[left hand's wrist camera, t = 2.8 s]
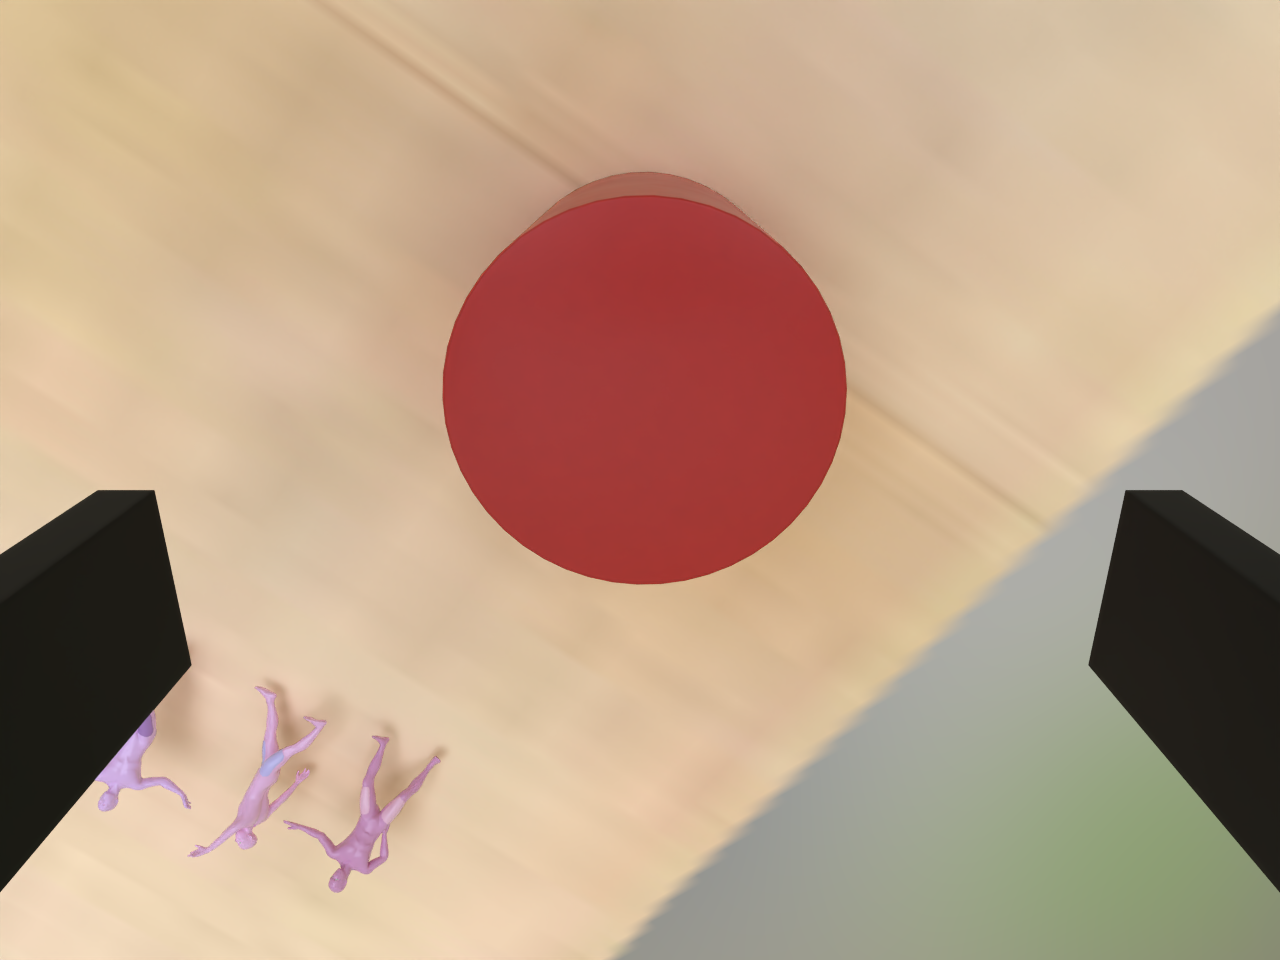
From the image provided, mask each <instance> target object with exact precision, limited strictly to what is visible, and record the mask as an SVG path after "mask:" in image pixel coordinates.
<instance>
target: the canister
mask: <svg viewBox="0 0 1280 960" xmlns="http://www.w3.org/2000/svg"><path fill="white" fill-rule="evenodd" d="M846 394H847V383H846V370H845V360H844V356H843V351H842V346H841V342H840V337H839V334H838V332H837V329H836V326H835V323H834V321H833V318H832V315H831V313H830V311H829V309H828V307H827V305H826V303H825V301H824V299H823V297H822V296H821V294H820V292H819V290H818V288H817V287H816V286H815V284H814V283H813V281H812V280H811V279H810V277H809V276H808V275H807V273H806V272H805V270H804V269H803V268H802V266H801V265H800V264H799V263H798V262H797V261H796V260H795V259H794V258H793V257H792V256H791V255H790V254H789V253H788V252H787V251H786V250H785V249H784V248H783V247H782V246H781V245H780V244H779V243H778V242H776V241H775V240H774V239H773V238H772V237H771V236H769V235H768V234H767V233H766V232H765V231H764V230H763V229H761V228H760V227H759V226H758V225H757V224H756V223H755V222H753V221H752V220H751V219H750V218H749V217H748V216H746V215H745V214H744V213H743V212H742V211H741V210H740V209H738V208H737V207H736V206H735V205H733V204H732V203H731V202H729V201H728V200H727V199H726V198H724V197H723V196H722V195H720V194H718V193H716V192H715V191H713V190H711V189H709V188H708V187H706V186H704V185H701V184H699V183H696V182H694V181H691V180H689V179H686V178H682V177H678V176H674V175H670V174H662V173H653V172H638V173H626V174H620V175H614V176H610V177H606V178H603V179H600V180H597V181H594V182H591V183H589V184H587V185H585V186H583V187H581V188H579V189H576V190H575V191H573V192H572V193H570V194H569V195H567V196H565V197H564V198H562V199H561V200H559V201H558V202H557V203H556V204H555V205H554V206H552V207H551V208H550V209H549V210H548V211H547V212H546V213H544V214H543V215H542V216H541V217H540V218H539V219H538V220H537V221H536V222H534V223H533V224H532V225H531V226H530V227H529V228H528V229H527V230H526V231H524V232H523V233H522V234H521V235H520V236H519V237H518V238H517V239H516V240H514V241H513V242H512V243H511V244H510V245H509V246H508V247H507V248H506V249H504V250H503V251H502V252H501V253H500V254H499V255H498V256H497V257H496V258H495V260H494V261H493V262H492V263H491V264H490V265H489V266H488V268H487V269H486V270H485V271H484V272H483V273H482V275H481V276H480V277H479V279H478V281H477V282H476V284H475V285H474V287H473V288H472V290H471V291H470V293H469V294H468V296H467V297H466V299H465V302H464V304H463V306H462V308H461V310H460V312H459V314H458V317H457V319H456V321H455V324H454V327H453V330H452V333H451V336H450V340H449V343H448V346H447V352H446V358H445V364H444V370H443V407H444V416H445V424H446V428H447V432H448V436H449V440H450V444H451V448H452V450H453V453H454V455H455V458H456V460H457V463H458V465H459V468H460V470H461V472H462V474H463V476H464V478H465V479H466V481H467V483H468V485H469V487H470V488H471V490H472V492H473V493H474V495H475V496H476V497H477V499H478V500H479V502H480V503H481V504H482V506H483V507H484V508H485V510H486V511H487V512H488V513H489V514H490V516H491V517H492V518H493V519H494V520H495V521H496V522H497V523H498V524H499V525H500V526H501V527H502V528H503V529H504V530H505V531H506V532H507V533H508V534H510V535H511V536H512V537H513V538H515V539H516V540H517V541H518V542H519V543H521V544H522V545H523V546H525V547H526V548H528V549H529V550H531V551H532V552H534V553H536V554H537V555H539V556H540V557H542V558H544V559H545V560H548V561H550V562H552V563H554V564H556V565H558V566H560V567H562V568H564V569H567V570H570V571H573V572H575V573H578V574H581V575H584V576H587V577H591V578H596V579H600V580H605V581H610V582H616V583H627V584H664V583H671V582H678V581H685V580H689V579H693V578H697V577H701V576H705V575H708V574H711V573H714V572H716V571H719V570H721V569H724V568H726V567H729V566H732V565H733V564H735V563H737V562H739V561H741V560H743V559H745V558H747V557H748V556H750V555H752V554H754V553H755V552H757V551H758V550H759V549H761V548H762V547H764V546H765V545H767V544H768V543H769V542H771V541H772V540H774V539H775V538H776V537H777V536H778V535H779V534H780V533H781V532H782V531H784V530H785V529H786V528H787V527H788V526H789V525H790V524H791V523H792V522H793V521H794V520H795V519H796V518H797V516H798V515H799V514H800V513H801V512H802V511H803V509H804V508H805V507H806V506H807V505H808V503H809V502H810V500H811V499H812V497H813V496H814V494H815V493H816V491H817V490H818V488H819V487H820V485H821V484H822V482H823V480H824V478H825V476H826V474H827V472H828V470H829V468H830V466H831V464H832V461H833V458H834V455H835V453H836V450H837V447H838V444H839V441H840V438H841V433H842V428H843V423H844V418H845V410H846Z"/></svg>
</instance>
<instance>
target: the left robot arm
mask: <svg viewBox="0 0 1280 960" xmlns="http://www.w3.org/2000/svg"><path fill="white" fill-rule="evenodd" d="M190 666H191V660H190V655H189V650H188V646H187V641H186V636H185V632H184V627H183V622H182V618H181V613H180V608H179V603H178V599H177V594H176V589H175V585H174V580H173V575H172V571H171V566H170V561H169V556H168V552H167V547H166V542H165V538H164V533H163V528H162V524H161V519H160V514H159V509H158V505H157V500H156V495H155V491H154V490H97V491H96V492H94V493H93V494H91V495H90V496H88V497H87V498H85V499H84V500H82V501H81V502H79V503H78V504H76V505H75V506H73V507H72V508H70V509H69V510H67V511H66V512H64V513H63V514H61V515H59V516H58V517H56V518H55V519H53V520H52V521H50V522H49V523H47V524H46V525H44V526H43V527H41V528H40V529H38V530H37V531H35V532H34V533H32V534H31V535H29V536H28V537H26V538H25V539H23V540H22V541H20V542H19V543H17V544H16V545H14V546H12V547H11V548H9V549H8V550H6V551H5V552H3V553H2V554H0V892H1V891H2V890H3V888H4V887H5V886H6V885H7V884H8V882H9V881H10V880H11V879H12V878H13V876H14V875H15V874H16V873H17V872H18V871H19V869H20V868H21V867H22V866H23V865H24V863H25V862H26V861H27V860H28V859H29V857H30V856H31V855H32V854H33V853H34V852H35V850H36V849H37V848H38V847H39V846H40V844H41V843H42V842H43V841H44V840H45V838H46V837H47V836H48V835H49V834H50V833H51V831H52V830H53V829H54V828H55V827H56V825H57V824H58V823H59V822H60V821H61V819H62V818H63V817H64V816H65V815H66V814H67V812H68V811H69V810H70V809H71V808H72V806H73V805H74V804H75V803H76V802H77V800H78V799H79V798H80V797H81V796H82V795H83V793H84V792H85V791H86V790H87V789H88V787H89V786H90V785H91V784H92V783H93V781H94V780H95V779H96V778H97V777H98V776H99V774H100V773H101V772H102V771H103V770H104V768H105V767H106V766H107V765H108V764H109V763H110V761H111V760H112V759H113V758H114V757H115V755H116V754H117V753H118V752H119V751H120V749H121V748H122V747H123V746H124V745H125V744H126V742H127V741H128V740H129V739H130V738H131V736H132V735H133V734H134V733H135V732H136V730H137V729H138V728H139V727H140V726H141V725H142V723H143V722H144V721H145V720H146V719H147V717H148V716H149V715H150V714H151V713H152V711H153V710H154V709H155V708H156V707H157V706H158V704H159V703H160V702H161V701H162V700H163V698H164V697H165V696H166V695H167V694H168V692H169V691H170V690H171V689H172V688H173V687H174V685H175V684H176V683H177V682H178V681H179V679H180V678H181V677H182V676H183V675H184V673H185V672H186V671H187V670H188V669H189V668H190ZM1089 666H1090V668H1091V669H1092V670H1093V671H1094V672H1095V673H1096V675H1097V676H1098V677H1099V678H1100V679H1101V681H1102V682H1103V683H1104V684H1105V685H1106V687H1107V688H1108V689H1109V690H1110V691H1111V692H1112V694H1113V695H1114V696H1115V697H1116V698H1117V700H1118V701H1119V702H1120V703H1121V704H1122V706H1123V707H1124V708H1125V709H1126V710H1127V711H1128V713H1129V714H1130V715H1131V716H1132V717H1133V719H1134V720H1135V721H1136V722H1137V723H1138V725H1139V726H1140V727H1141V728H1142V729H1143V730H1144V732H1145V733H1146V734H1147V735H1148V736H1149V738H1150V739H1151V740H1152V741H1153V742H1154V744H1155V745H1156V746H1157V747H1158V748H1159V749H1160V751H1161V752H1162V753H1163V754H1164V755H1165V757H1166V758H1167V759H1168V760H1169V761H1170V763H1171V764H1172V765H1173V766H1174V767H1175V768H1176V770H1177V771H1178V772H1179V773H1180V774H1181V776H1182V777H1183V778H1184V779H1185V780H1186V781H1187V783H1188V784H1189V785H1190V786H1191V787H1192V789H1193V790H1194V791H1195V792H1196V793H1197V795H1198V796H1199V797H1200V798H1201V799H1202V800H1203V802H1204V803H1205V804H1206V805H1207V806H1208V808H1209V809H1210V810H1211V811H1212V812H1213V814H1214V815H1215V816H1216V817H1217V818H1218V819H1219V821H1220V822H1221V823H1222V824H1223V825H1224V827H1225V828H1226V829H1227V830H1228V831H1229V833H1230V834H1231V835H1232V836H1233V837H1234V838H1235V840H1236V841H1237V842H1238V843H1239V844H1240V846H1241V847H1242V848H1243V849H1244V850H1245V851H1246V853H1247V854H1248V855H1249V856H1250V857H1251V859H1252V860H1253V861H1254V862H1255V863H1256V865H1257V866H1258V867H1259V868H1260V869H1261V871H1262V872H1263V873H1264V874H1265V875H1266V876H1267V878H1268V879H1269V880H1270V881H1271V882H1272V884H1273V885H1274V886H1275V887H1276V888H1277V890H1278V891H1279V892H1280V554H1278V553H1277V552H1275V551H1274V550H1272V549H1271V548H1269V547H1268V546H1266V545H1264V544H1263V543H1261V542H1260V541H1258V540H1257V539H1255V538H1254V537H1252V536H1251V535H1249V534H1248V533H1246V532H1245V531H1243V530H1242V529H1240V528H1239V527H1237V526H1236V525H1234V524H1233V523H1231V522H1230V521H1228V520H1227V519H1225V518H1224V517H1222V516H1221V515H1219V514H1217V513H1216V512H1214V511H1213V510H1211V509H1210V508H1208V507H1207V506H1205V505H1204V504H1202V503H1201V502H1199V501H1198V500H1196V499H1195V498H1193V497H1192V496H1190V495H1189V494H1187V493H1186V492H1184V491H1183V490H1126V491H1125V496H1124V500H1123V505H1122V509H1121V514H1120V519H1119V524H1118V528H1117V533H1116V538H1115V542H1114V547H1113V552H1112V556H1111V561H1110V566H1109V571H1108V575H1107V580H1106V585H1105V590H1104V594H1103V599H1102V604H1101V608H1100V613H1099V618H1098V622H1097V627H1096V632H1095V636H1094V641H1093V646H1092V650H1091V655H1090V660H1089Z"/></svg>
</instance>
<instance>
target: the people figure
mask: <svg viewBox="0 0 1280 960" xmlns="http://www.w3.org/2000/svg"><path fill="white" fill-rule="evenodd" d="M255 688H256V689H257V690H258V691H259V692H260V693H261V694H262V695H263V696H264V697H265V698H266V702H267V705H268V715H267V728H266V732H265V736H264V741H263V747H262V758H263V760H262V764H261V767H260V768H259V769H258V771H257V773H256V774H255V776H254V778H253V780H252V782H251V784H250V786H249V787H248V789H247V791H246V793H245V795H244V797H243V800H242V802H241V803H240V805H239V808H238V814H237V817H236V819H235V820H234V822H233V823H232V824H231V825H230V826H229V827H228V828H227V829H226V830H225V831H224V832H223V833H222V834H221V835H220V837H218V838H217V839H216V840H215V841H214V842H213V843H212V844H211V845H210V846H208V847H203V846H199V845H195V846H196V847H198V849H197V850H195V851H193V852H191V853H190V855H188V856H192V857H198V856H201V855H203V854H206V853H209V852H210V851H212V850H214V849H215V848H217V847H218V846H219V845H221V844H222V843H223V842H224V841H226V840H227V839H228V838H230V837H231V836H232V835H233V834H234V833H236V835H235V836H236V840H235V841H236V842H237V843H238V846H239V847H240V848H241V849H249V848H251V847H253V846H254V845H255V844H256V843H257V837H256V835H255V834H254V833H253V832H252V829H253V827H255V826H257V825H259V824H261V823H262V822H264V821H266V820H267V819H268V817H269V816H270V815H271V814H272V813H273V812H274V811H275V810H276V809H277V808H278V807H279V806H280V805H281V804H282V803H283V802H285V801H286V800H287V799H288V797H289V796H290V795H291V794H292V792H293V791H294V790H295V788H296V787H297V786H298V785H299V783H300V782H302V781H303V780H304V779H306V778H307V777H308V775H309V773H310V771H309V769H308V770H307V771H306V768H305V770H304V771H303V773H301V774H300V775H299V770H298V772H297V775H296V781H295V782H294V783H293V785H292V786H291V787H290V788H288V789H287V790H286V791H285V792H284V793H283V794H282V795H281V796H280V797H279V798H278V799H276V800H275V801H274V802H272V803H271V804H270V805H269V799H268V792H269V789H270V787H271V786H272V785H273V784H274V783H276V781H277V780H278V777H279V774H280V768H281V767H282V766H283V765H284V764H285V763H286V762H287V761H288V760H289V758H290V757H291V756H293V755H294V754H296V753H298V752H301V751H303V750H305V749H306V748H307V747H309V746H310V744H311V743H312V742H313V741H314V739H315V738H316V737H317V735H318V734H319V733H320V731H321V730H322V729H323V727H324V726H325V725H326V723H327V721H325V720H316V719H314V718H312V717H307V716H304V717H303V718H304V719H306V720H307V721H309V722H311V723H312V724H313V725H314V726H315V727H316V728H315V729H314V730H313V731H312V732H311V733H309V734H308V735H307V736H305V737H304V738H302V739H301V740H300V741H298V742H297V743H295V744H294V745H291V746H288V747H285V748H283V749H281V750H279V747H278V743H277V740H276V730H277V726H278V715H277V711H276V708H275V704H274V700H275V698H276V696H277V694H276V693H274V692H271V691H269V690H268V689H266V688H263V687H259V686H257V687H255ZM156 732H157V730H156V716H155V712H154V710H153V711H152V713H151V714H150V715H149V716H148V717H147V719H146V720H145V721H144V722H143V723H142V725H141V726H140V727H139V728H138V729H137V730H136V732H135V733H134V734H133V735H132V736H131V738H130V739H129V740H128V741H127V742H126V744H125V745H124V746H123V747H122V748H121V749H120V751H119V752H118V753H117V754H116V755H115V757H114V758H113V759H112V760H111V761H110V763H109V764H108V765H107V766H106V767H105V768H104V770H103V771H102V772H101V773H100V774H99V776H98V777H97V778H96V779H95V781H100V782H104V783H106V784H107V785H108V786H109V789H108V790H107V791H105V792H104V793H103V795H102V796H101V797H100V800H99V802H98V808H99V809H100V810H101V811H109V810H112V809H114V808H115V807H116V805H117V804H118V794H119V792H120V789H122V788H131V789H134V790H142V789H145V788H148V787H152V786H157V785H161V786H162V787H164V788H166V789H168V790H170V791H172V792H175V793H177V794H178V795H180V796H181V799H182V802H183V805H184V807H185V808H189V809H191V806H190V805H188V803H191V802H189V801H188V799H187V796H186V794H185V793H184V792H183V791H182V790H181V789H180V788H179V787H178V786H176V785H175V784H174V783H173V782H172V781H171V780H170V779H168V778H166V777H150V778H142V777H141V758H142V756H143V754H144V752H145V751H146V749H147V748H148V747H149V746H150V745H151V743H152V741H153V740H154V738H155V736H156ZM372 738H374V739H376V740H377V741H378V742H379V744H380V747H379V749H378V751H377V753H376V755H375V756H374V758H373V759H372V761H371V763H370V765H369V767H368V770H367V773H366V776H365V777H364V780H363V786H362V789H361V795H360V814H361V816H360V818H359V820H358V823H357V825H356V827H355V829H354V830H353V831H352V833H351V834H350V835H349V836H348V837H347V838H346V839H345V840H344V841H342V842H341V843H340V844H338V845H337V846H335V845H334V844H333V843H332V841H331V840H330V839H329V838H328V837H327V836H326V835H325V834H324V833H323V832H320V831H318V830H316V829H314V828H310V827H307V826H304V825H300V824H297V823H293V822H289V821H284V823H286V824H289V825H290V826H292V827H288V829H300V830H302V831H304V832H306V833H307V834H309V835H310V836H312V837H315V838H317V839H318V840H319V841H320V843H321V844H322V845H323V847H324V848H325V850H326V853H327V855H328V856H329V857H330V858H332V859H335V860H337V861H338V862H339V863H340V866H341V869H340V868H339V869H337V871H336V872H335V873H334V874H333V876H332V877H331V878H330V881H329V888H330V890H331V891H333V892H336V893H338V892H341V891H342V890H343V889H344V888H345V886H346V883H347V879H348V876H349V874H350V871H351V870H356V871H359V872H361V873H363V874H369V873H371V872H372V871H373V870H374V869H375V868H376V867H378V866H379V865H381V864H382V863H384V862H385V861H386V860H387V858H388V844H387V832H388V829H389V825H390V823H391V822H392V821H393V820H394V819H395V817H396V816H397V815H398V814H399V812H400V811H401V809H402V808H403V806H404V804H405V803H406V801H407V800H408V799H409V798H410V797H411V796H412V795H413V794H414V793H416V792H417V791H418V790H419V789H420V787H421V785H422V783H423V782H424V780H425V778H426V776H427V774H428V772H429V771H430V770H431V769H432V768H433V766H434V765H436V764H437V763H440V760H439V758H438V757H437V756H435V757H433V759H432V760H431V761H430V763H429V764H428V765H427V767H426V768H425V769H424V770H423V772H422V773H421V774H420V775H418V776H417V777H416V778H415V779H414V780H413V781H412V782H411V784H410V785H409V786H408V788H407V789H405V790H403V791H402V792H401V793H400V794H399V795H398V796H397V797H395V798H394V799H393V800H392V801H391V802H390V803H388V804H387V805H386V806H385V807H384V808H383V809H382V811H380V809H379V806H378V805H377V804H376V795H375V789H374V778H375V776H376V774H377V772H378V770H379V768H380V766H381V762H382V757H383V753H384V749H385V747H386V744H387V743H388V741H389V738H388V737H379V736H372ZM305 771H306V772H305ZM381 833H383V834H382V842H381V848H380V857H377V858H375V859H373V860H371V861H370V862H369V859H370V855H371V852H372V849H373V846H374V843H375V841H376V839H377V838H378V837H379V835H380V834H381ZM192 853H193V854H192Z"/></svg>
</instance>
